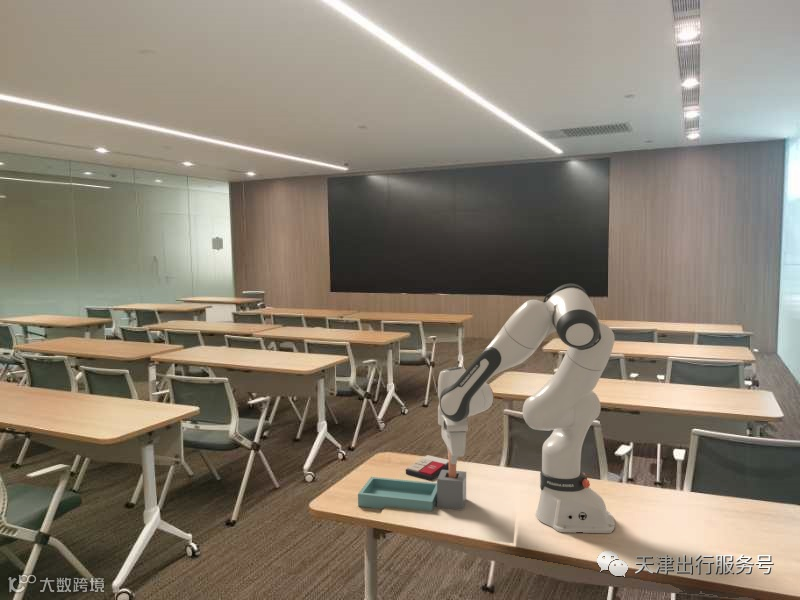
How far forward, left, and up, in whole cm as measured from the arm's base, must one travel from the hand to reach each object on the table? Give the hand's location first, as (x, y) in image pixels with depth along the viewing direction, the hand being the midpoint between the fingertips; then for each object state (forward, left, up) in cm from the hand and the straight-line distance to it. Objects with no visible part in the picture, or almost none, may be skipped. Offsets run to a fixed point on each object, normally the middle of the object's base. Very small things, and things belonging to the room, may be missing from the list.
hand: (452, 461), depth 173 cm
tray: (+17, 0, -15) cm, 23 cm away
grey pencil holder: (0, 0, -15) cm, 15 cm away
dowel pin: (0, 0, -12) cm, 12 cm away
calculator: (+13, -25, -15) cm, 32 cm away
